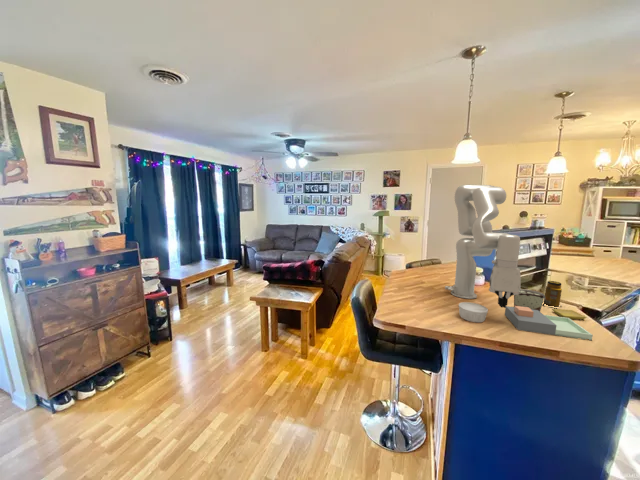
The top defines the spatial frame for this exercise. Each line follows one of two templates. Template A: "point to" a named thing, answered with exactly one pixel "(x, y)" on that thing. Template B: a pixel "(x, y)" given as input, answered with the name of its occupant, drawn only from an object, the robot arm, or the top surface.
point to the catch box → (569, 328)
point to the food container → (529, 299)
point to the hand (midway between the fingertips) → (502, 306)
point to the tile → (523, 311)
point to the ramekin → (472, 311)
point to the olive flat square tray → (569, 314)
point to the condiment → (553, 293)
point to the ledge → (531, 322)
